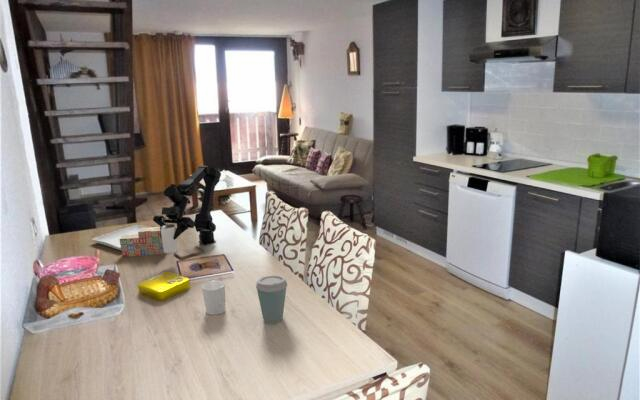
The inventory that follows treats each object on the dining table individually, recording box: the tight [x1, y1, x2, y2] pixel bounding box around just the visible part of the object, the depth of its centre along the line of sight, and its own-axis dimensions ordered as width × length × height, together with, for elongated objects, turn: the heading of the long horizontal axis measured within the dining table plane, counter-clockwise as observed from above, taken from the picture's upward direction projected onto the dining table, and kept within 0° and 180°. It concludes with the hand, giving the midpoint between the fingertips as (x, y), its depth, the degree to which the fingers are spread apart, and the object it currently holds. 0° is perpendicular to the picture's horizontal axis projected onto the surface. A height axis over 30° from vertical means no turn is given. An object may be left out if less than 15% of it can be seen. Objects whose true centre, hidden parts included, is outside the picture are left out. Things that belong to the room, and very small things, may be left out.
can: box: [161, 223, 180, 255], centre depth 204 cm, size 6×6×12 cm
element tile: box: [137, 271, 191, 302], centre depth 181 cm, size 15×15×5 cm
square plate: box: [91, 224, 151, 251], centre depth 242 cm, size 27×27×4 cm
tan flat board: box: [173, 245, 206, 260], centre depth 220 cm, size 12×8×1 cm, turn 132°
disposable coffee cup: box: [255, 274, 288, 325], centre depth 155 cm, size 11×11×15 cm
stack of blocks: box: [120, 226, 167, 258], centre depth 221 cm, size 21×6×12 cm, turn 94°
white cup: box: [201, 280, 226, 316], centre depth 163 cm, size 8×8×10 cm
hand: (167, 238), depth 203 cm, fingers closed on can, 6 cm apart
